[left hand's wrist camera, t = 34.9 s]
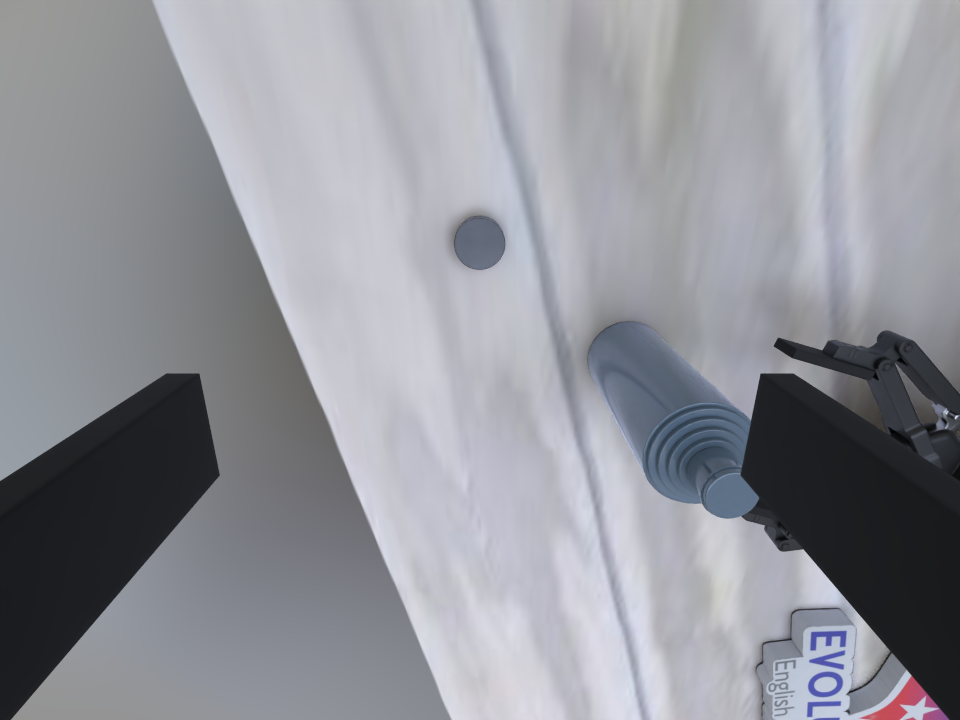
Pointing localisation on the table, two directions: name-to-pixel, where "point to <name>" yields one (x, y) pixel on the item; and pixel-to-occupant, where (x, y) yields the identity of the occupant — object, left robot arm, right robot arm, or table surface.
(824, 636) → the decorative sign
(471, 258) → the cap
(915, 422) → the right robot arm
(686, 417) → the bottle
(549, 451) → the table surface
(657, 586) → the table surface
